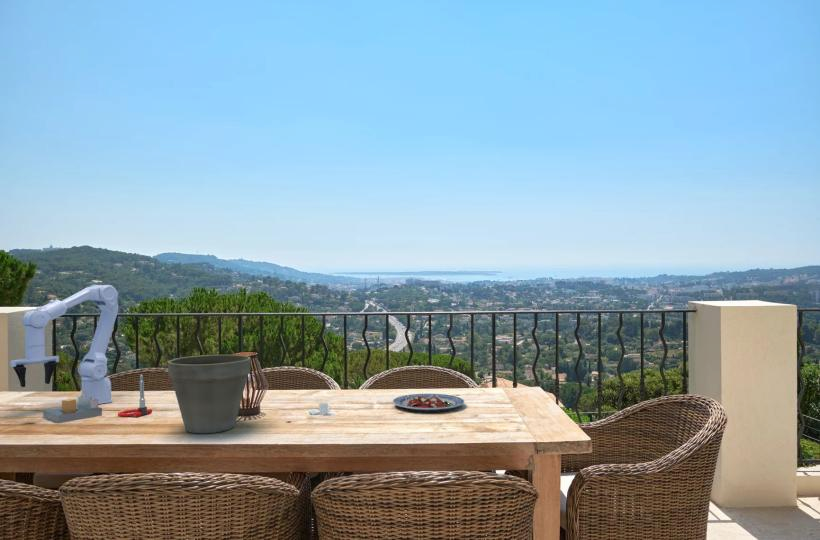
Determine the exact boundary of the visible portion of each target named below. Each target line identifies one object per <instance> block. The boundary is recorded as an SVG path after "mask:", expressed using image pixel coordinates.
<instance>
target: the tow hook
mask: <svg viewBox="0 0 820 540" xmlns="http://www.w3.org/2000/svg"><path fill="white" fill-rule="evenodd" d="M144 385H145V381H144V375H143V374H140V375H139V407H138V408H135V409H134V408H133V409H125V410H121V411H119V412H118V413H117V416H118V417H121V418H122V417H125V418H126V417H133V418H138V417H143V416H145V415H150V414H152V413H153V409H152V408H148V407H147V406H146V399H145V386H144Z"/></svg>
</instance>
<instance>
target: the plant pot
mask: <svg viewBox="0 0 820 540" xmlns="http://www.w3.org/2000/svg"><path fill="white" fill-rule="evenodd" d="M251 364H252V358H251V357H250V356H247V355H242V354H241V355H240V354H207V355H206V354H205V355H204V354H203V355H193V356H190V355H189V356H183V357H178V358H177V357H176V358H173V359H170V360H169V361H167V372H168V373H167V375H168V378H169V379H171V381H172V385H173V389H174V392H175V396H176V397H175V398H176V400H177V404H178V407H179V411H180V416H181V418H182V422H183V426H184V428H185V430H186V432H188V433H191V434H214V433H221V432H225V431H226V432H227V431H230V430H231V429H233V428H234V427H235V425H236V422H237V418H238V415H239V411H240V407H241V403H242V399H243V396H244V391H245V388H246V383H247V379H248V375H249V374H250V373H251V369H252V365H251Z"/></svg>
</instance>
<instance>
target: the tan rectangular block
mask: <svg viewBox="0 0 820 540" xmlns="http://www.w3.org/2000/svg"><path fill="white" fill-rule="evenodd" d="M76 405H77V399H75V398H66V399H63V400H61V408H62V412H64V413H66V412H72V411H76Z"/></svg>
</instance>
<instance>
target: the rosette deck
mask: <svg viewBox="0 0 820 540" xmlns="http://www.w3.org/2000/svg"><path fill="white" fill-rule="evenodd" d="M77 402H78V403H77V404H76V411H72V412H66V413H64V412H62V407H56V408H49V409H45V410H43V411H42V417H43V419H46V420H48V421H50V422H51V421H52V422H54V423H57V424H61V423H66V422H72V421H78V420H83V419H87V418H88V419H89V418H93V417H94V418H95V417H100V416H103V407H99V404H98V399H95V397H88V396H86V395H82V394H81V395H80V396H78V397H77Z"/></svg>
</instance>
